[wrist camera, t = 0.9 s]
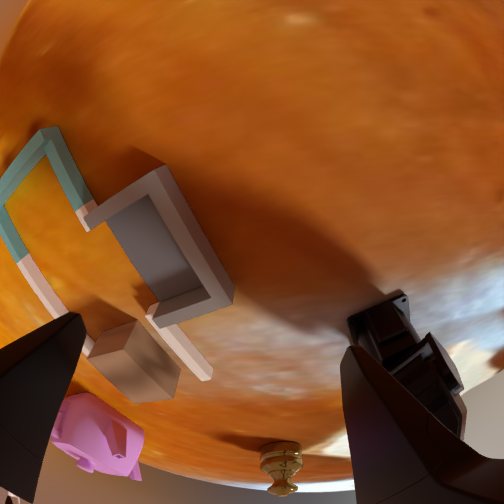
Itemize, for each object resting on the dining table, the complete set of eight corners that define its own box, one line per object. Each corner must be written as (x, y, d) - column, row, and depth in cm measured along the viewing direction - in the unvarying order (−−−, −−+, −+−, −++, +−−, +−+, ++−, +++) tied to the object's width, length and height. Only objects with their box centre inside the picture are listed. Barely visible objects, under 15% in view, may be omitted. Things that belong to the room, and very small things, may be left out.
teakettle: (52, 374, 32) (23, 429, 21) (141, 408, 34) (122, 476, 23) (77, 419, 40) (59, 463, 29) (150, 445, 41) (139, 495, 30)
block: (181, 367, 29) (173, 398, 25) (143, 375, 30) (134, 403, 26) (138, 318, 25) (123, 349, 21) (102, 330, 27) (86, 358, 23)
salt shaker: (310, 444, 38) (315, 492, 29) (282, 456, 41) (284, 500, 32) (279, 437, 36) (281, 490, 27) (251, 449, 39) (250, 497, 30)
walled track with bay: (274, 351, 27) (275, 370, 24) (128, 384, 31) (123, 398, 28) (120, 73, 15) (104, 69, 13) (-5, 201, 19) (-19, 209, 17)
